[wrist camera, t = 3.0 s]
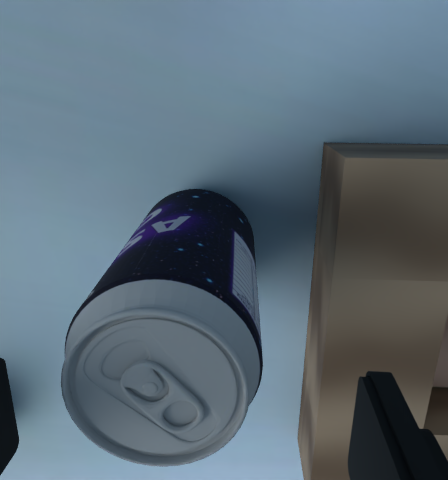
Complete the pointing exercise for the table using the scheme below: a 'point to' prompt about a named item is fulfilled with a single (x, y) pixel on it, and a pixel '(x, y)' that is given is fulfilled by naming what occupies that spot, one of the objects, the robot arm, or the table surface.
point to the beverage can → (169, 336)
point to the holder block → (376, 293)
